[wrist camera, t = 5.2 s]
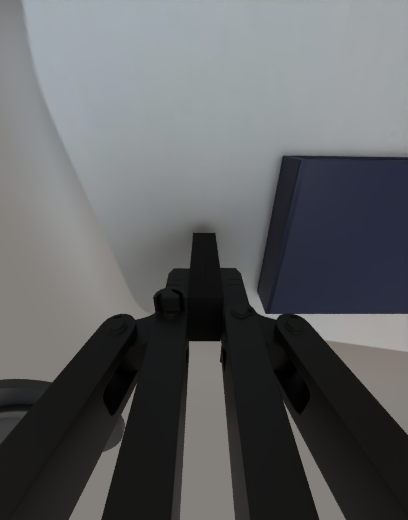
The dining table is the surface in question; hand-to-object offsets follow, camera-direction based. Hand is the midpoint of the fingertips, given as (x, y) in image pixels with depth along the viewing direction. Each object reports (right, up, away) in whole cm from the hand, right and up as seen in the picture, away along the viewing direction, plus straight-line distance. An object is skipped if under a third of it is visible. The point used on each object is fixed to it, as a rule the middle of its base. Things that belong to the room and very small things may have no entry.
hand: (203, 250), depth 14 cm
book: (+13, +1, +3) cm, 14 cm away
